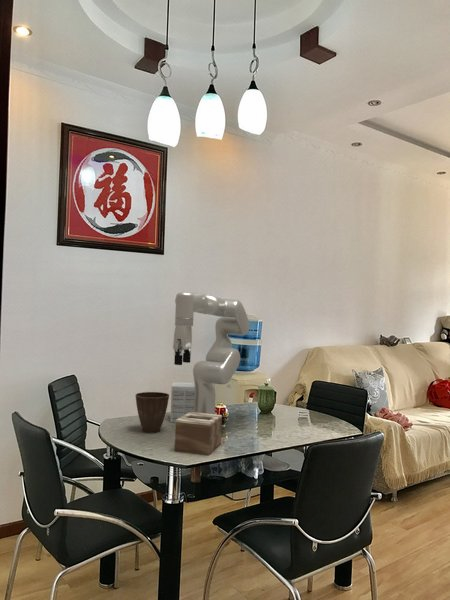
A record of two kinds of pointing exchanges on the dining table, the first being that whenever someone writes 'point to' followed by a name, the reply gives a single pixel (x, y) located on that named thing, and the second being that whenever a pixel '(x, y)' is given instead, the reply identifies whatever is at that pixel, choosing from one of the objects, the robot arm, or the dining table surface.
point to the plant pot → (151, 409)
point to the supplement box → (181, 399)
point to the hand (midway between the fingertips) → (182, 363)
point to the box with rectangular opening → (198, 433)
